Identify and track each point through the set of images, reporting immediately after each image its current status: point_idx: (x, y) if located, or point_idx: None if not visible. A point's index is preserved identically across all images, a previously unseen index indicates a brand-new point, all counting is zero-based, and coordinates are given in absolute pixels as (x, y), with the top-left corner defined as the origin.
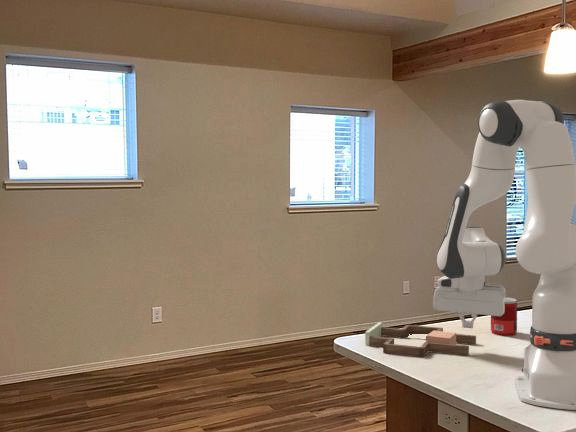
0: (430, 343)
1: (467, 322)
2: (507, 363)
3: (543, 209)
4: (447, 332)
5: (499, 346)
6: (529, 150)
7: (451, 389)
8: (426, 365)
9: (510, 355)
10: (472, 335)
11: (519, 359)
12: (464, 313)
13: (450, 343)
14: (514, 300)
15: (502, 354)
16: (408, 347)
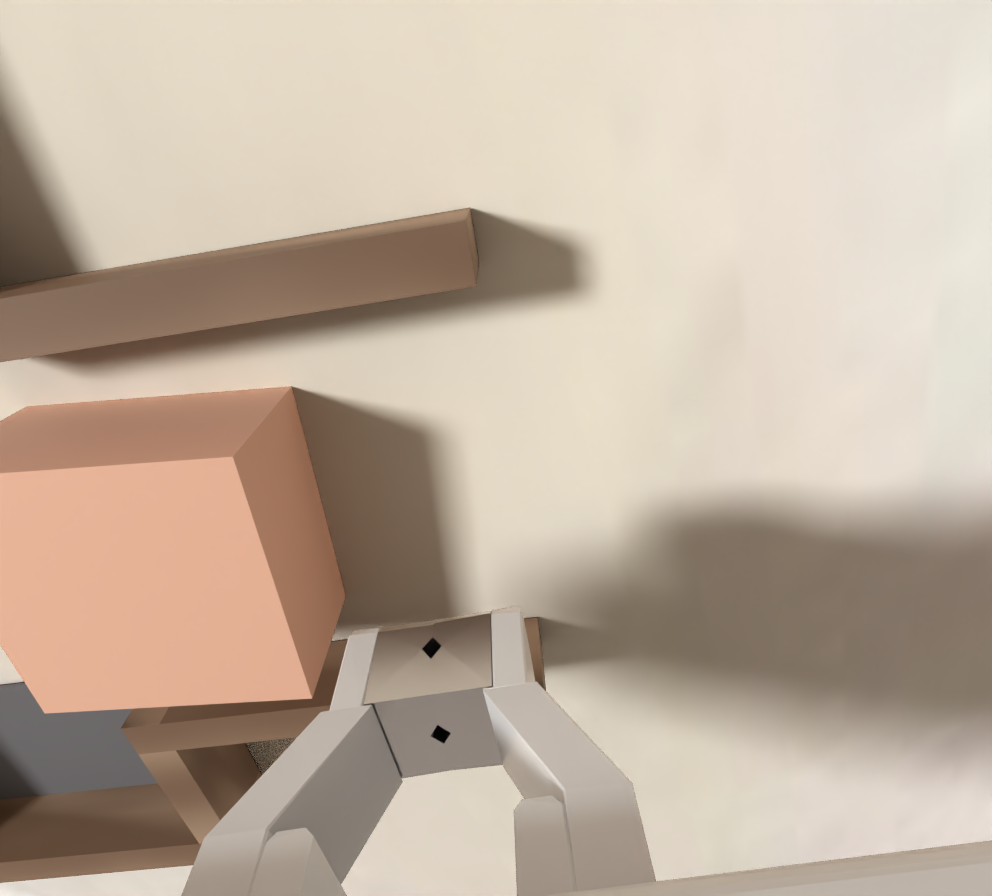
0: (194, 746)
1: (453, 768)
2: (874, 678)
3: None
4: (122, 492)
5: (782, 171)
6: None
7: None
8: (380, 882)
9: (910, 476)
10: (410, 239)
11: (987, 552)
12: (313, 879)
13: (323, 628)
14: None
15: (830, 481)
16: (130, 865)
